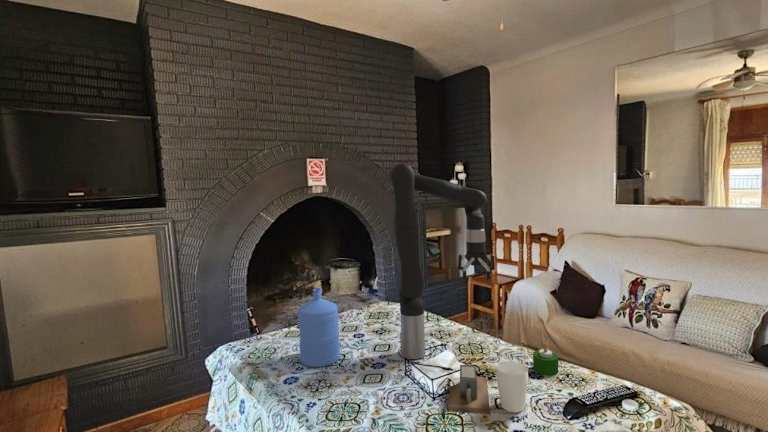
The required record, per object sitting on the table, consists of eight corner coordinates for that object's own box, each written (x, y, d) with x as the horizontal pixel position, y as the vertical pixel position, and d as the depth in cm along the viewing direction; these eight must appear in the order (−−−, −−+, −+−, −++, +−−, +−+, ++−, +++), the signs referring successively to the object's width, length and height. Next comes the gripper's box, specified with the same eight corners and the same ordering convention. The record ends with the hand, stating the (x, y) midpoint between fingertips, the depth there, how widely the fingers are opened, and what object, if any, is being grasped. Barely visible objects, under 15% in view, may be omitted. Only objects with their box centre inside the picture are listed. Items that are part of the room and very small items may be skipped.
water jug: (348, 357, 153) (345, 288, 150) (316, 372, 141) (312, 297, 139) (323, 347, 163) (320, 282, 161) (292, 360, 152) (288, 290, 150)
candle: (556, 366, 140) (557, 339, 139) (559, 377, 132) (559, 348, 131) (532, 363, 142) (532, 337, 142) (533, 374, 134) (533, 346, 134)
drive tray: (448, 409, 115) (448, 392, 115) (450, 378, 134) (450, 363, 133) (490, 413, 113) (489, 396, 112) (486, 380, 131) (486, 365, 131)
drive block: (460, 398, 119) (460, 379, 118) (460, 382, 128) (460, 364, 128) (477, 399, 118) (476, 380, 117) (475, 383, 127) (475, 365, 127)
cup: (492, 399, 120) (491, 362, 119) (520, 397, 120) (520, 360, 119) (503, 416, 111) (503, 376, 110) (534, 414, 111) (533, 374, 110)
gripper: (457, 241, 152) (458, 282, 153) (494, 241, 149) (495, 282, 150) (457, 239, 159) (458, 277, 160) (493, 238, 156) (494, 278, 157)
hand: (476, 280), depth 155 cm, fingers open, 8 cm apart
